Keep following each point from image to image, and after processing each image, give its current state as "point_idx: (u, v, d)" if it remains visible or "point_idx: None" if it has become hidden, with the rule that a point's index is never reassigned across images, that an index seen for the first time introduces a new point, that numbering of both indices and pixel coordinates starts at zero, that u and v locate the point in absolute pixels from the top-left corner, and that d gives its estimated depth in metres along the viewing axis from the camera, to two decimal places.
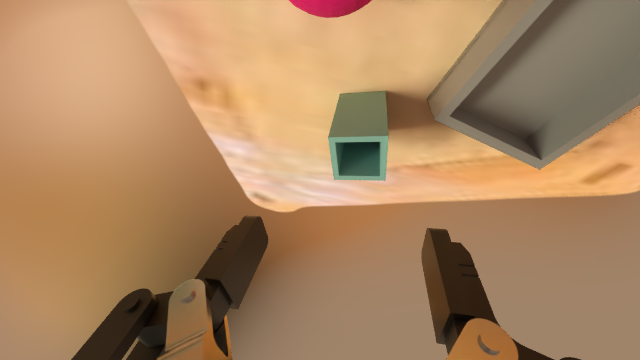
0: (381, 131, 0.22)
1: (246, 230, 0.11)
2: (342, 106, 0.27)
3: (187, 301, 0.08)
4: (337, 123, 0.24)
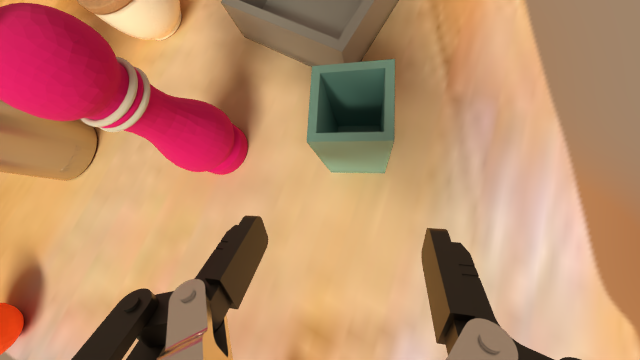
0: None
1: (246, 230, 0.11)
2: None
3: (187, 301, 0.08)
4: None
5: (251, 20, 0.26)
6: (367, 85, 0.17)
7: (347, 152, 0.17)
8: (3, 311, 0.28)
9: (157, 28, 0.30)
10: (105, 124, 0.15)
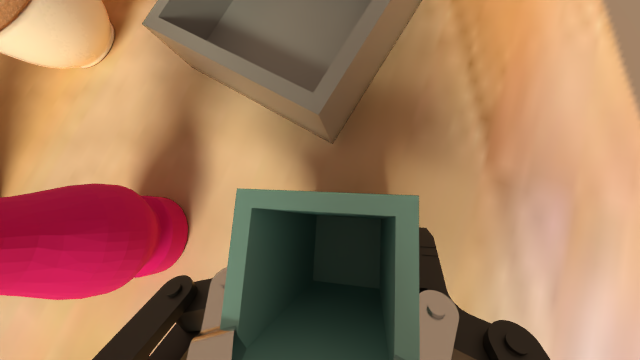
0: None
1: None
2: None
3: None
4: None
5: (187, 51, 0.17)
6: (357, 215, 0.09)
7: None
8: None
9: (70, 55, 0.22)
10: None
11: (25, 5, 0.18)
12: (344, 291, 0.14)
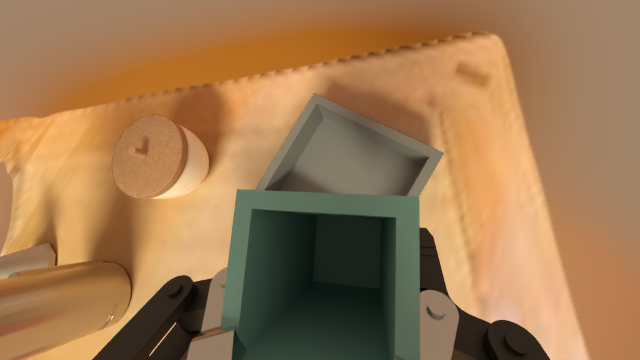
0: None
1: None
2: None
3: None
4: None
5: None
6: None
7: None
8: None
9: (189, 191, 0.32)
10: None
11: (177, 178, 0.28)
12: (344, 291, 0.14)
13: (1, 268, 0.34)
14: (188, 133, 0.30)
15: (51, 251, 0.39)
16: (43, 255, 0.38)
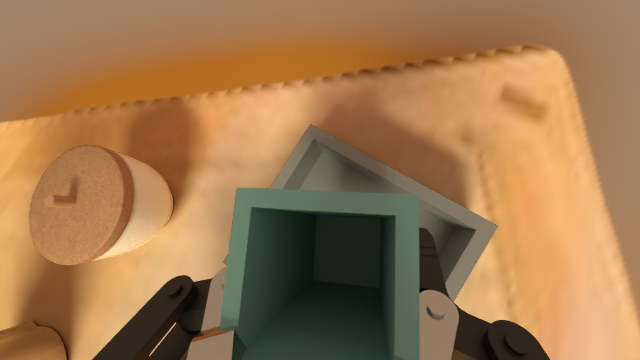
0: None
1: None
2: None
3: None
4: None
5: None
6: (357, 214, 0.08)
7: None
8: None
9: (141, 245, 0.24)
10: None
11: (116, 237, 0.20)
12: (344, 291, 0.14)
13: None
14: (138, 171, 0.22)
15: None
16: None
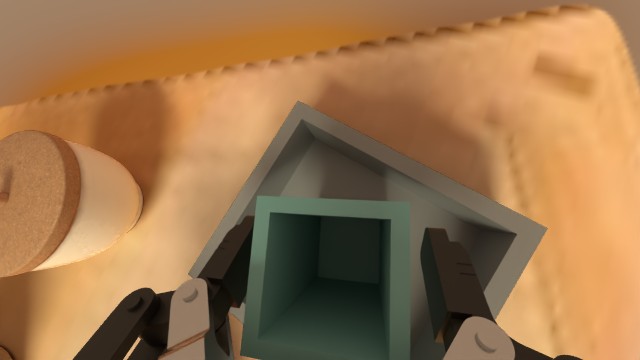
0: None
1: (247, 229, 0.11)
2: None
3: (189, 300, 0.08)
4: None
5: None
6: None
7: None
8: None
9: (100, 251, 0.20)
10: None
11: (58, 243, 0.16)
12: (346, 286, 0.15)
13: None
14: (90, 161, 0.18)
15: None
16: None
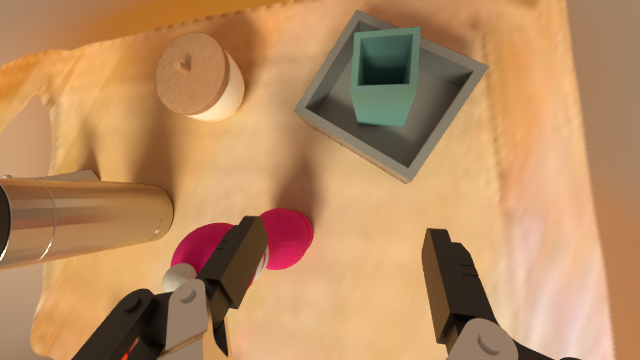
0: None
1: (246, 230, 0.11)
2: None
3: (187, 301, 0.08)
4: None
5: (322, 128, 0.28)
6: (396, 48, 0.22)
7: (378, 103, 0.23)
8: None
9: (227, 115, 0.33)
10: None
11: (219, 95, 0.29)
12: None
13: None
14: (227, 53, 0.30)
15: (95, 176, 0.42)
16: (88, 178, 0.41)
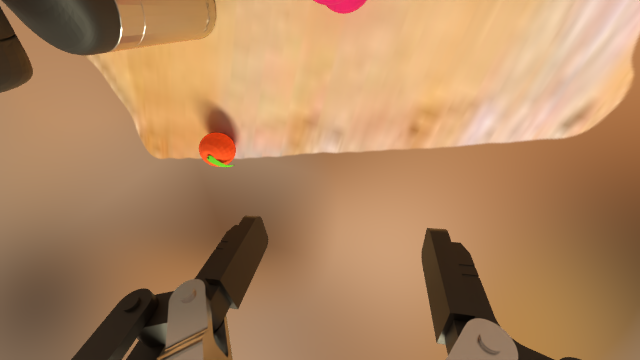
0: None
1: (246, 230, 0.11)
2: None
3: (187, 301, 0.08)
4: None
5: None
6: None
7: None
8: (224, 135, 0.46)
9: None
10: None
11: None
12: None
13: None
14: None
15: None
16: None
